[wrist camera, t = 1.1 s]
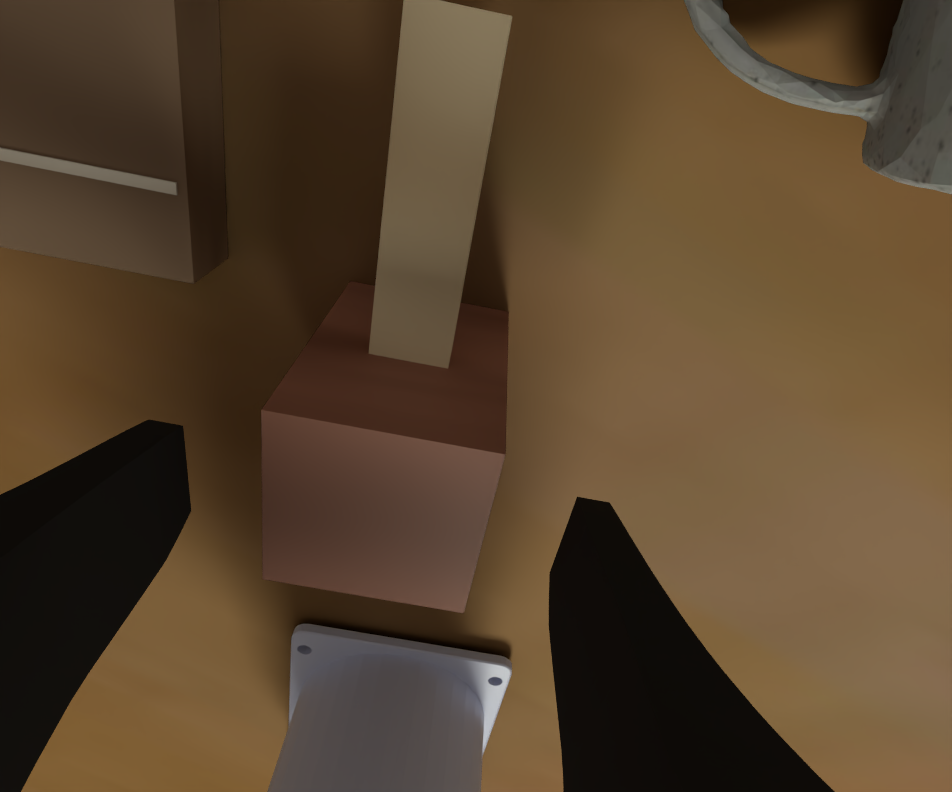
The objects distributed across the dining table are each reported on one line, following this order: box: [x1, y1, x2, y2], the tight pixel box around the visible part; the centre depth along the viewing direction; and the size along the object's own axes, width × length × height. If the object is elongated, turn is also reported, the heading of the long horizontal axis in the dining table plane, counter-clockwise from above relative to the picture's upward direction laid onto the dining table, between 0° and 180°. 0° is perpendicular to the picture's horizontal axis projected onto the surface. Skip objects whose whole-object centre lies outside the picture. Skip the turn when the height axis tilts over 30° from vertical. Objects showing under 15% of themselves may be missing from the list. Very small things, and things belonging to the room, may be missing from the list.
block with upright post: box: [261, 0, 512, 613], centre depth 12 cm, size 10×4×6 cm, turn 170°
